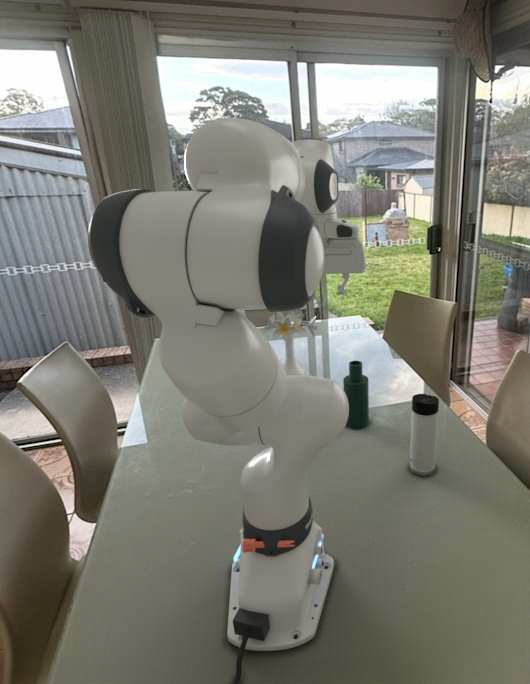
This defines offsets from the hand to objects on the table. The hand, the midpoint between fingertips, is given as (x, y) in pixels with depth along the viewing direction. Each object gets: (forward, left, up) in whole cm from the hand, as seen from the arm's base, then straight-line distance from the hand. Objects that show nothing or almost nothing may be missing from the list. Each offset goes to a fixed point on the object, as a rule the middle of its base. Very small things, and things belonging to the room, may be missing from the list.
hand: (318, 294), depth 94 cm
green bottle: (+20, -7, -44) cm, 49 cm away
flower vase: (+48, +15, -44) cm, 67 cm away
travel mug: (-2, -23, -44) cm, 50 cm away
